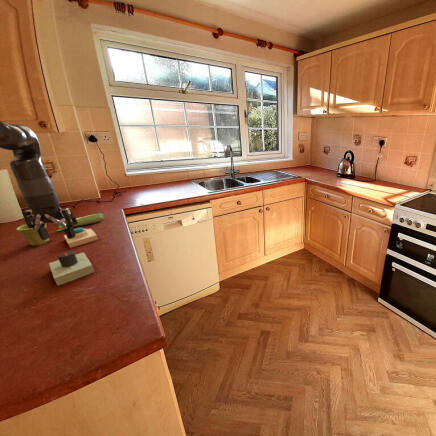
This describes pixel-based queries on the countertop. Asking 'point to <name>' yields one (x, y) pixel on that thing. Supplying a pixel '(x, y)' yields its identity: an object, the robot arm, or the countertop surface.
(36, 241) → the plant pot
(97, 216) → the green cucumber
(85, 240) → the button box
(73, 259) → the dial
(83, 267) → the panel
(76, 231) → the button
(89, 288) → the countertop surface
